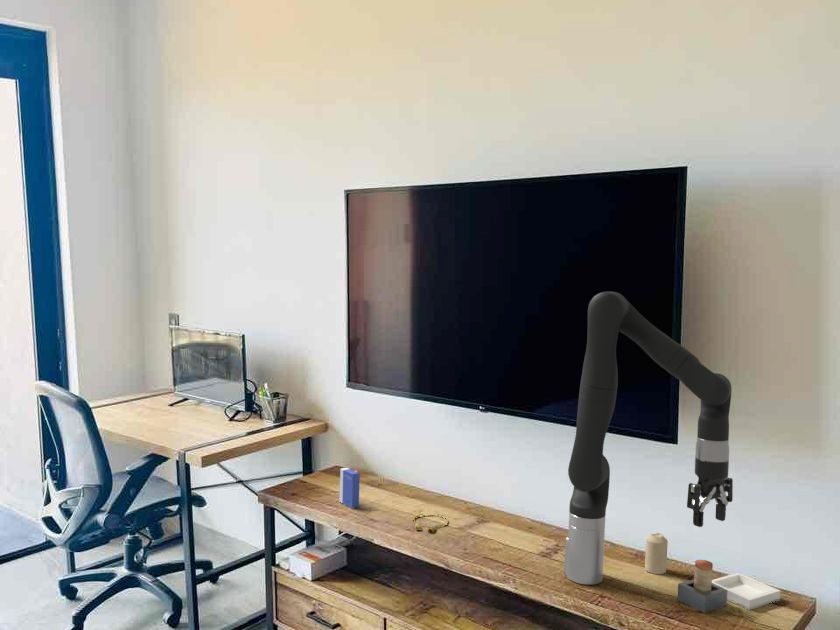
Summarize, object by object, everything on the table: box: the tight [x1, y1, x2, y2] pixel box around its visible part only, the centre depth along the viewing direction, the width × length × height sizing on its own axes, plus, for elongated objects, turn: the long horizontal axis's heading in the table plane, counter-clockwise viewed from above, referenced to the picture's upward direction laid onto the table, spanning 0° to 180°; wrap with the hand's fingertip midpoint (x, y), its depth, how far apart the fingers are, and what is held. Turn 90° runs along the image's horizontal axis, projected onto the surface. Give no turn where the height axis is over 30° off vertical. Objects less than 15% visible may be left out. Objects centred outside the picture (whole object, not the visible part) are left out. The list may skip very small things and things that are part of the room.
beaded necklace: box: [413, 513, 444, 534], centre depth 228 cm, size 12×16×2 cm
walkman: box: [338, 467, 361, 509], centre depth 244 cm, size 8×3×12 cm, turn 39°
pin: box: [693, 559, 714, 593], centre depth 178 cm, size 4×4×10 cm
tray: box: [712, 572, 781, 611], centre depth 183 cm, size 12×12×2 cm
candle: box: [644, 532, 669, 575], centre depth 197 cm, size 6×6×10 cm
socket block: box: [676, 578, 728, 614], centre depth 178 cm, size 8×8×4 cm
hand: (709, 523), depth 176 cm, fingers open, 8 cm apart
